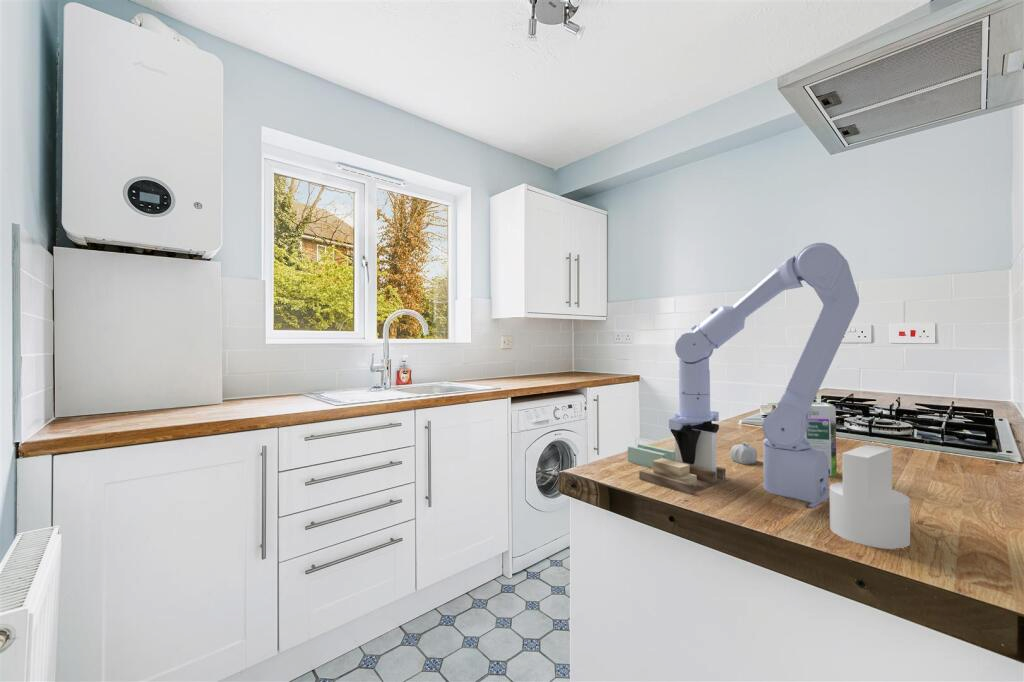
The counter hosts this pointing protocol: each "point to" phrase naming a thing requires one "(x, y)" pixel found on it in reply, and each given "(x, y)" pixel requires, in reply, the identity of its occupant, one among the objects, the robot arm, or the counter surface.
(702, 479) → the rack
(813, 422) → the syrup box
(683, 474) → the offcut stack
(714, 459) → the white square panel
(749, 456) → the garlic
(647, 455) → the stand
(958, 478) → the counter surface
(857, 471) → the cylinder with rectangular tab
